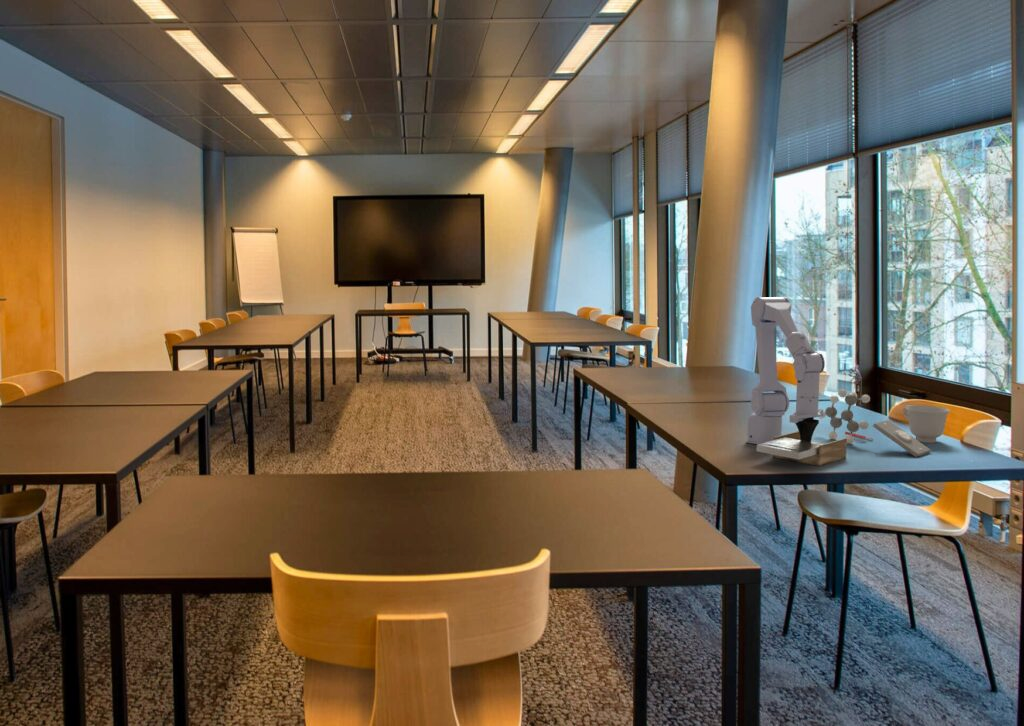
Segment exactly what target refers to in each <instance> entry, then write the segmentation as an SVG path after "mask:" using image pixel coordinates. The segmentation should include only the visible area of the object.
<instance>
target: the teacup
mask: <svg viewBox="0 0 1024 726" xmlns="http://www.w3.org/2000/svg"><path fill="white" fill-rule="evenodd" d="M950 412H951V410H950V409H949V408H946V407H943V406H937V405H927V404H925V405H924V404H915V405H912V404H911V405H909V404H906V405H905V406H904V407H903V409H902V413H903V416H904V418H905V419H906V420H907V421H908V426H909V431H910V433H911V434H912V435H913V436H914V437H915V439H916V440H918V441H919V442H920V443H929V444H930V443H931V444H932V443H936V442H937V438H939V437H941V436H942V435H943V434H944V432H945V427H946V421H947V417H948V414H949V413H950Z"/></svg>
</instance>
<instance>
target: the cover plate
mask: <svg viewBox="0 0 1024 726" xmlns="http://www.w3.org/2000/svg"><path fill="white" fill-rule="evenodd" d="M813 442H814V441H812V442H808V441H802V440H796V439H791V438H785V437H784V438H780V439H777V440H773V441H769V442H765V443H761V444H756V452H759V453H764V454H768V455H772V456H773V455H778V456H783V457H788V458H793V459H802V458H805V457H809V456H812V455H815V454H819V445H823V444H824V443H823V444H819V443H820V442H818V443H813Z"/></svg>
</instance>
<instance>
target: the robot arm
mask: <svg viewBox="0 0 1024 726" xmlns="http://www.w3.org/2000/svg"><path fill="white" fill-rule="evenodd" d="M791 312H792V304H791V302H790V299H789V298H788V297H787V296H779V297H778V296H773V297H771V296H769V297H766V296H765V297H763V296H757V297H755V298H754V300H753V301H752V303H751V305H750V316H751V323H752V326H754V328H755V329H754V330H755V339H756V350H757V361H758V364H757V365H758V373H759V375H758V376H759V383H758V384H757V385H755V386H754V387H753V388H752V389H751V399H750V407H751V410H752V411H753V412H752V413H751V414H750V415H749V417H748V419H747V430H746V431H747V432H746V434H747V436H746V440H745V443H748V444H754V445H758V444H761V443H765V442H769V441H773V440H774V437H777V436H781V435H783V434H782V430H783V429H782V427H783V416H785V414H786V412H787V411H788V409H789V408H790V398H789V396H788V393H787V388H786V386H784V385H783V384H782V383H780V382H779V379H778V368H777V367H778V366H777V355H776V343H775V342H776V341H775V335H774V334H775V333H774V330H775V329H776V327H779V329H780V330H781V332H782V333H783V335H784V336H785V337H786V339H785V343H784V344H785V346H786V347H787V348H786V349H788V351H789V353H790V355H791V356H792V359H793V363H792V367H793V370H794V378H795V380H796V397H795V399H796V400H795V402H796V403H795V411H794V412H793V413H792V414H789V420H788V421H789V423H792V424H793V423H794V424H795V426H796V428H797V431H799V433H800V440H802V441H808V442H811V441H812V438H813V435H814V433H815V430H816V428H817V426H818V425H819V423H820V419H815V418H819V417H822V416H823V411H824V409H821V408H819V400H820V399H819V397H820V376H821V375H820V374H821V373H823V372H824V370H825V365H826V362H825V358H824V356H823V354H822V353H821V352H818V351H817V350H815V349H814V348H813V347H812V344H811V343H810V341H809V340H808V338H807V336H806V335H805V334H804V333H803V332H800V331H799V330H798V328H797V326H796V323H795V321H794V319H793V316H792V314H791Z"/></svg>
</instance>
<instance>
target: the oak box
mask: <svg viewBox="0 0 1024 726" xmlns="http://www.w3.org/2000/svg"><path fill="white" fill-rule="evenodd" d="M784 437H785V438H791V439H796V440H800V433H799V430H797V431H793V432H789V433H786V434H785V433H784V434H781V436H777V437H774V440H777V439H780V438H784ZM811 442H813V443H819V444H823V445H819V454H815V455H812V456H809V457H805V458H802V459H793V458H788V457H783V456H778V455H773V454H772V457H773V458H776V459H777V458H778V459H782V460H784V461H785V460H786V461H791V462H792V461H793V462H796V463H800V464H806V465H813V466H817V467H823V466H826V465H829V464H831V463H835V462H838V461H840V460H844V459H847V438H846V437H844V438H841V439H835V440H833V441H831V442H827V443H822V442H817V441H812V440H811Z"/></svg>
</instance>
